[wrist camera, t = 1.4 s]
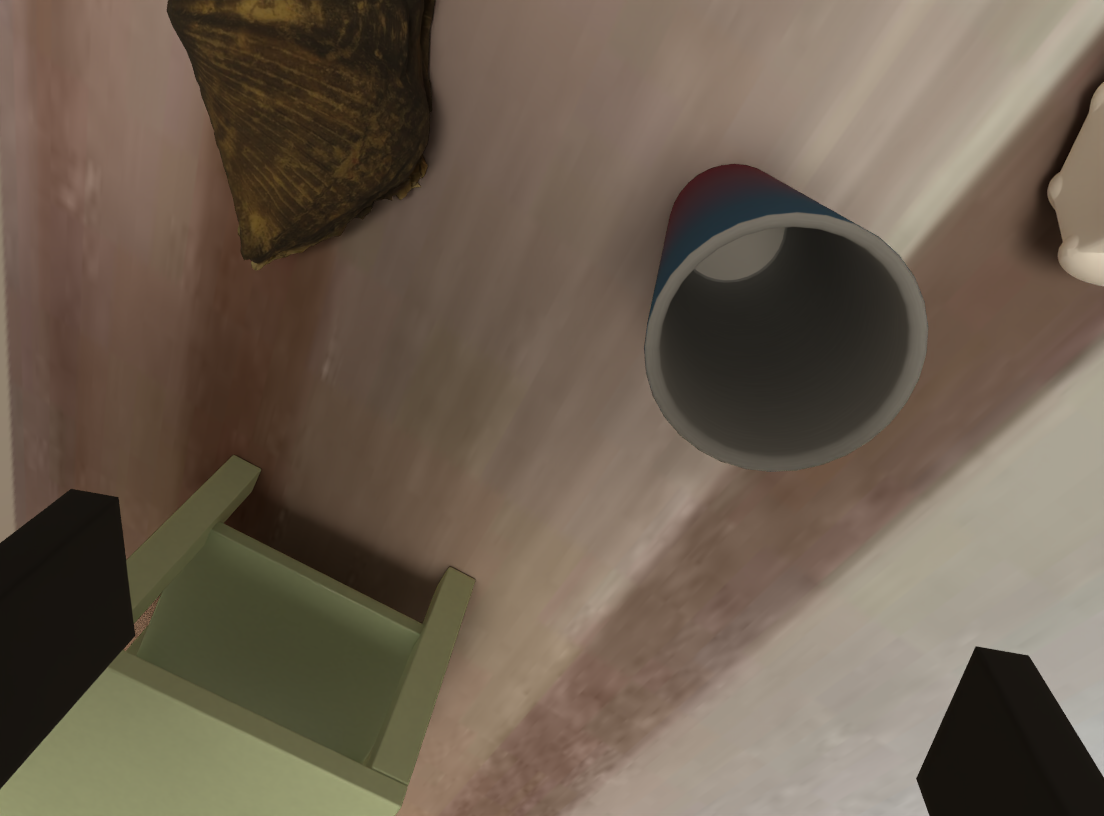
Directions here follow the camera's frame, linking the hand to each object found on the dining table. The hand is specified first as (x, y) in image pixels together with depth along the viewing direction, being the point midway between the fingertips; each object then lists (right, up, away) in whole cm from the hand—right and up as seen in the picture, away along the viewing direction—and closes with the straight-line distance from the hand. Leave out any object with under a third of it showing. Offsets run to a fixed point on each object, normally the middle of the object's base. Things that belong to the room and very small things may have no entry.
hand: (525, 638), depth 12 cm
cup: (+8, +11, +21) cm, 25 cm away
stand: (-13, -7, +32) cm, 35 cm away
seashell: (-8, +18, +20) cm, 28 cm away
